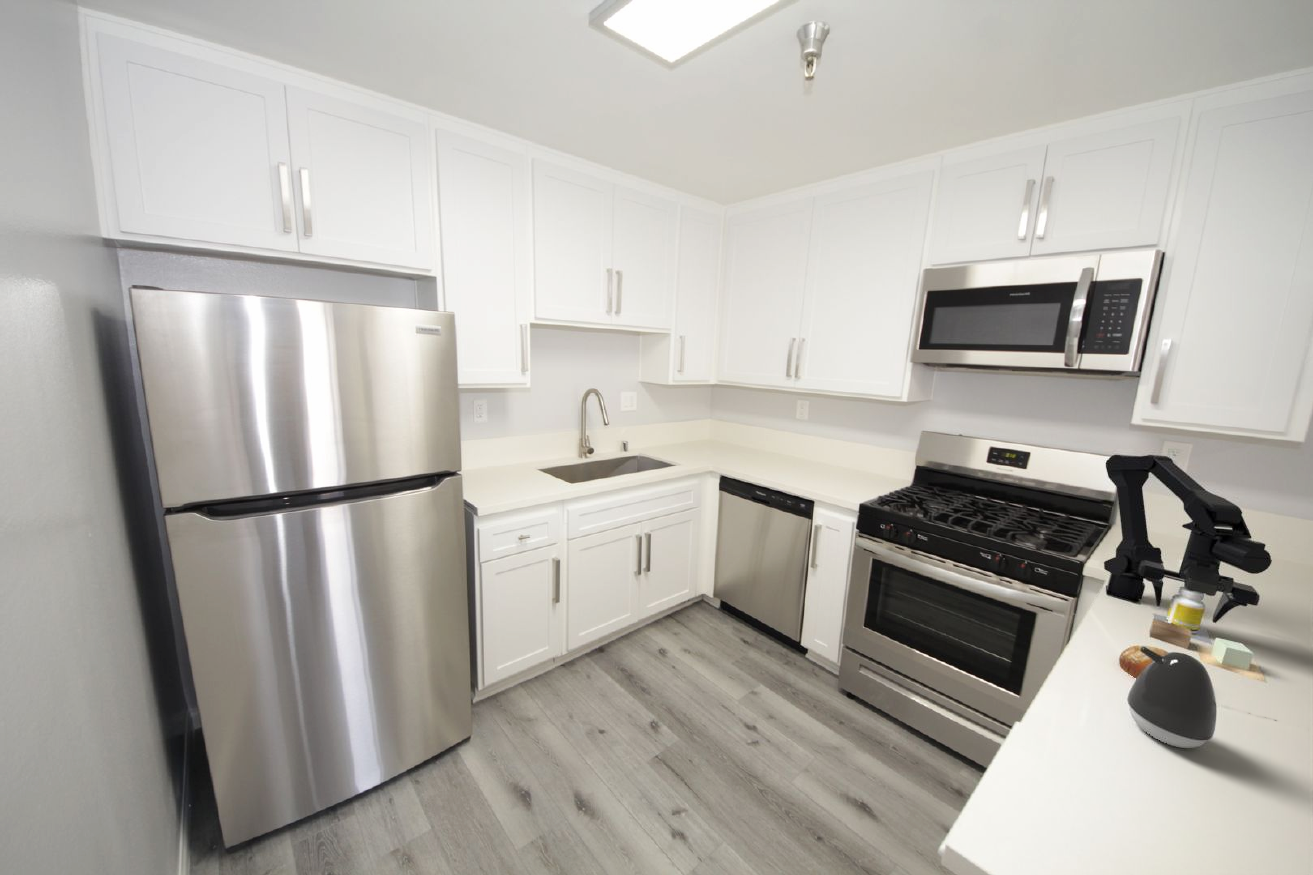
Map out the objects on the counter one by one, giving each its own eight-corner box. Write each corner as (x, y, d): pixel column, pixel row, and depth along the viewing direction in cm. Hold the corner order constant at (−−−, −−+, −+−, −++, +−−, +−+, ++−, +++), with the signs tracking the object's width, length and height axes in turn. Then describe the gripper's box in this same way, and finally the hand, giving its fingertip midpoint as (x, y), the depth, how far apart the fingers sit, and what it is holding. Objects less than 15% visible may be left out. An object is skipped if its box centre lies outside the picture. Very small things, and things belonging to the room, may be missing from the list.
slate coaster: (1155, 629, 116) (1156, 627, 116) (1152, 615, 123) (1153, 613, 122) (1211, 646, 110) (1212, 644, 110) (1204, 630, 117) (1205, 628, 117)
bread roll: (1169, 690, 100) (1167, 649, 101) (1208, 702, 90) (1205, 657, 92) (1110, 677, 103) (1109, 638, 105) (1142, 687, 93) (1140, 644, 95)
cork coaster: (1200, 663, 103) (1201, 661, 103) (1194, 645, 110) (1195, 643, 110) (1266, 685, 97) (1267, 682, 97) (1255, 664, 104) (1256, 662, 104)
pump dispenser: (1117, 702, 90) (1138, 629, 87) (1199, 732, 83) (1224, 655, 80) (1123, 734, 82) (1146, 655, 79) (1214, 770, 76) (1242, 686, 73)
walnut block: (1148, 639, 112) (1153, 623, 111) (1149, 633, 114) (1153, 617, 114) (1186, 652, 107) (1191, 636, 107) (1185, 645, 110) (1190, 629, 109)
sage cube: (1221, 663, 103) (1226, 647, 102) (1210, 653, 106) (1216, 637, 105) (1248, 670, 101) (1253, 653, 100) (1236, 659, 104) (1241, 643, 104)
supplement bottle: (1204, 636, 113) (1216, 598, 111) (1177, 632, 114) (1188, 594, 112) (1184, 623, 118) (1195, 586, 116) (1158, 619, 119) (1169, 583, 117)
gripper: (1150, 550, 113) (1133, 610, 116) (1275, 579, 100) (1253, 645, 103) (1146, 537, 121) (1130, 594, 124) (1262, 563, 109) (1241, 625, 112)
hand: (1185, 613), depth 115 cm, fingers open, 9 cm apart
